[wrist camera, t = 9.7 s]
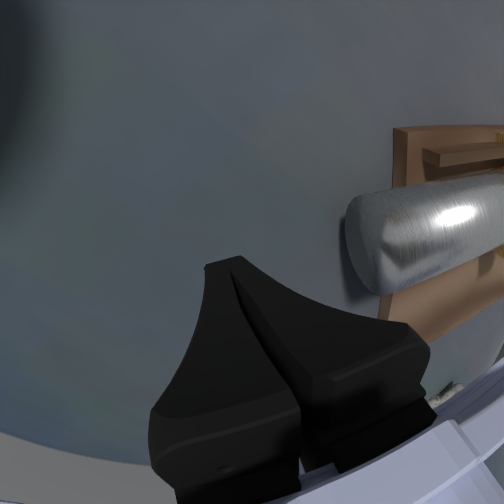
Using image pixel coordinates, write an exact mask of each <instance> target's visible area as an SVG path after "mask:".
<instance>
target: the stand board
mask: <svg viewBox="0 0 504 504" xmlns="http://www.w3.org/2000/svg"><path fill="white" fill-rule="evenodd" d="M496 132H504V125H445V126H421V127H404V128H394V155H393V186H392V189H395V188H400V187H405V186H410V185H415V184H420V183H425V182H430V181H436V180H441V179H446V178H452V177H457V176H462V175H468V174H474V173H479V172H485V171H490V170H492V169H494V168H498V167H504V145H503V144H501V143H498V142H496ZM503 296H504V259H503V258H502V257H500V256H499V255H497V254H496V253H494V252H493V251H492V250H491V251H489V252H487V253H485V254H483V255H481V256H478V257H476V258H474V259H472V260H470V261H468V262H466V263H463V264H461V265H459V266H457V267H454V268H452V269H450V270H448V271H445V272H443V273H441V274H438V275H436V276H434V277H431V278H429V279H427V280H424V281H422V282H420V283H417V284H415V285H412V286H410V287H407V288H405V289H402V290H400V291H397V292H395V293H392V294H390V295H387V296H381V303H380V309H379V315H378V319H381V320H388V321H396V322H404V323H407V324H408V325H409V326H411V327H412V328H413V329H414V330H415V331H416V332H417V333H418V334H419V336H420V337H421V338H422V339H423V340H424V341H425V342H426V344H428V343H430V342H431V341H433V340H435V339H437V338H438V337H440V336H442V335H444V334H445V333H447V332H449V331H450V330H452V329H454V328H455V327H457V326H459V325H460V324H462V323H464V322H465V321H467V320H468V319H470V318H472V317H473V316H475V315H476V314H478V313H479V312H481V311H482V310H484V309H485V308H487V307H488V306H490V305H491V304H493V303H494V302H496V301H497V300H499V299H500V298H501V297H503Z"/></svg>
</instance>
